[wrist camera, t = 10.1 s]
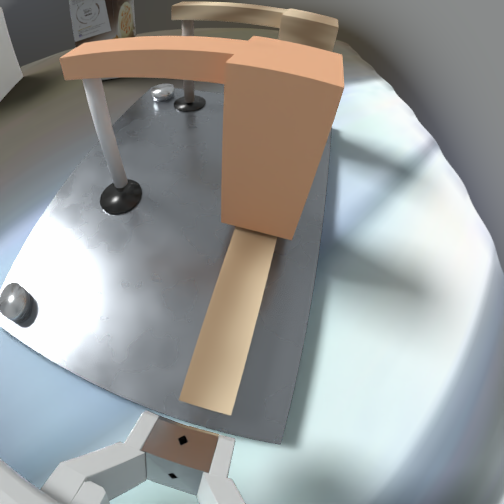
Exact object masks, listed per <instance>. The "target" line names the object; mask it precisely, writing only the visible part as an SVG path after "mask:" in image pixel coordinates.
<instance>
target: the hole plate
mask: <svg viewBox="0 0 504 504" xmlns="http://www.w3.org/2000/svg"><path fill="white" fill-rule="evenodd" d="M194 99H195V100H194V102H192V103H186V102H185V101H184V89H176V88H174V86H173V85H172V84H159V85H156V86H154V87H151V88H150V89H149V90H148V91H147V92H146V93H145V94H144V95H143V96H142V97H141V98H140V99H138V100H137V101H136V102H135V103H134V104H133V105H132V106H131V107H130V108H129V109H128V110H127V111H126V112H125V113H124V114H123V115H122V116H121V117H120V118H119V119H118V120H117V121H116V122H115V124H114V125H113V126H112V127H113V131H114V135H115V139H116V142H117V146H118V149H119V153H120V156H121V160H122V163H123V167H124V170H125V173H126V177H127V180H128V183H127V185H126V186H125V187H123V188H116V187H115V185H114V182H113V180H112V177H111V174H110V171H109V168H108V165H107V162H106V160H105V157H104V153H103V150H102V147H101V144H100V141H98V142H97V143H96V144H95V146H94V147H93V148H92V149H91V150H90V151H89V153H88V154H87V155H86V156H85V157H84V159H83V160H82V161H81V162H80V164H79V165H78V166H77V167H76V169H75V170H74V171H73V172H72V174H71V175H70V176H69V178H68V179H67V180H66V182H65V183H64V184H63V186H62V187H61V188H60V190H59V191H58V193H57V194H56V195H55V197H54V198H53V200H52V201H51V203H50V204H49V205H48V207H47V208H46V210H45V211H44V213H43V215H42V216H41V218H40V219H39V221H38V222H37V224H36V226H35V227H34V229H33V230H32V232H31V234H30V235H29V237H28V239H27V240H26V242H25V244H24V246H23V247H22V249H21V251H20V253H19V255H18V256H17V258H16V260H15V262H14V264H13V266H12V268H11V270H10V272H9V274H8V276H7V278H6V280H5V282H4V284H3V286H2V288H1V291H0V326H1V327H2V328H3V329H5V330H6V331H7V332H9V333H10V334H12V335H13V336H14V337H16V338H17V339H19V340H20V341H21V342H23V343H24V344H26V345H27V346H29V347H30V348H32V349H33V350H35V351H37V352H38V353H40V354H41V355H43V356H45V357H46V358H48V359H49V360H51V361H53V362H54V363H56V364H58V365H60V366H61V367H63V368H65V369H67V370H68V371H70V372H72V373H74V374H76V375H78V376H79V377H81V378H83V379H85V380H87V381H89V382H91V383H93V384H95V385H97V386H99V387H101V388H103V389H105V390H107V391H110V392H112V393H114V394H116V395H118V396H121V397H123V398H125V399H128V400H130V401H132V402H135V403H137V404H139V405H142V406H144V407H147V408H150V409H152V410H155V411H158V412H160V413H163V414H166V415H169V416H171V417H174V418H177V419H180V420H183V421H186V422H190V423H193V424H196V425H199V426H203V427H206V428H210V429H213V430H217V431H221V432H224V433H228V434H232V435H237V436H241V437H245V438H250V439H254V440H259V441H264V442H270V443H275V444H281V441H282V437H283V433H284V429H285V425H286V421H287V417H288V413H289V409H290V405H291V401H292V396H293V392H294V388H295V383H296V378H297V374H298V369H299V364H300V360H301V355H302V350H303V345H304V339H305V334H306V329H307V323H308V318H309V312H310V306H311V301H312V294H313V288H314V282H315V276H316V269H317V262H318V255H319V248H320V241H321V233H322V225H323V217H324V208H325V199H326V189H327V179H328V169H329V157H330V144H331V130H332V127H331V130H330V133H329V136H328V139H327V142H326V145H325V148H324V151H323V154H322V157H321V160H320V163H319V165H318V168H317V171H316V174H315V177H314V180H313V183H312V186H311V188H310V191H309V194H308V197H307V200H306V203H305V205H304V208H303V211H302V214H301V216H300V219H299V222H298V225H297V227H296V230H295V233H294V236H293V238H292V240H288V239H284V238H280V237H277V240H276V244H275V248H274V253H273V257H272V261H271V265H270V269H269V273H268V277H267V281H266V285H265V289H264V293H263V297H262V301H261V305H260V309H259V313H258V317H257V320H256V324H255V328H254V332H253V336H252V340H251V344H250V347H249V351H248V355H247V359H246V362H245V366H244V370H243V374H242V377H241V381H240V385H239V388H238V392H237V396H236V399H235V403H234V407H233V410H232V414H231V415H227V414H223V413H219V412H216V411H212V410H209V409H205V408H202V407H199V406H195V405H192V404H189V403H186V402H183V401H180V400H179V398H180V394H181V391H182V388H183V384H184V381H185V378H186V375H187V372H188V368H189V365H190V362H191V359H192V356H193V353H194V349H195V346H196V343H197V340H198V337H199V334H200V331H201V328H202V325H203V322H204V318H205V315H206V312H207V309H208V306H209V303H210V300H211V297H212V294H213V291H214V288H215V285H216V282H217V279H218V276H219V273H220V270H221V267H222V264H223V262H224V259H225V256H226V253H227V250H228V247H229V244H230V241H231V238H232V235H233V232H234V230H235V227H236V226H234V225H230V224H226V223H222V222H221V179H222V137H223V107H224V94H220V93H213V92H205V91H197V90H194Z"/></svg>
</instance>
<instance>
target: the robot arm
mask: <svg viewBox="0 0 504 504" xmlns="http://www.w3.org/2000/svg"><path fill="white" fill-rule="evenodd" d="M234 445H235V438H231V437H227V436H223V435H219V434H216V433H213V432H209V431H205V430H201V429H198V428H195V427H191V426H186V425H183V424H181V423H178V422H175V421H172V420H170V419H167V418H164V417H162V416H159V415H156V414H154V413H151V412H149V411H146V410H145V411H144V412H143V413H142V414H141V416H140V418H139V419H138V421H137V423H136V424H135V426H134V428H133V429H132V431H131V432H130V434H129V436H128V437H127V439H126V441H125V442H124V443H122V442H118V443H115V444H113V445H110V446H107V447H105V448H102V449H99V450H96V451H94V452H91V453H88V454H85V455H82V456H79V457H76V458H73V459H70V460H67V461H63V462H60V464H59V465H58V466H57V468H56V469H55V470H54V472H53V473H52V474H51V476H50V477H49V478H48V480H47V481H46V482H45V484H44V485H43V486H42V488H41V489H38V488H37V487H36V486H34V485H33V484H31V483H30V482H29V481H27V480H26V479H25V478H24V477H22V476H21V475H20V474H18V473H17V472H16V471H15V470H14V469H12V468H11V467H10V466H9V465H8V464H6V463H5V462H4V461H3V460H2V459H1V458H0V504H110V502H109V501H110V500H112V499H114V498H115V497H117V496H119V495H121V494H123V493H125V492H127V491H128V490H130V489H132V488H134V487H136V486H137V485H139V484H141V483H143V482H144V481H146V479H148V480H151V481H153V482H156V483H159V484H162V485H165V486H168V487H172V488H174V489H177V490H180V491H183V492H186V493H190V494H193V495H196V496H197V499H198V502H199V504H246V503H245V502H244V500H243V498H242V496H241V494H240V493H239V491H238V489H237V487H236V485H235V483H234V482H233V480H232V479H230V478H228V473H229V468H230V464H231V459H232V454H233V450H234Z"/></svg>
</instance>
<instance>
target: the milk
mask: <svg viewBox="0 0 504 504" xmlns="http://www.w3.org/2000/svg"><path fill="white" fill-rule="evenodd" d="M22 78H23V75H22V72H21V69H20V67H19V64H18V61H17V58H16V55H15V52H14V49H13V46H12V43H11V40H10V36H9V33H8V30H7V26H6V23H5V19H4V15H3V11H2V8H1V7H0V101H1V100H2V99H3V98H4V97H5V96H6V94H7V93H8V92H9V91H10V90H11V89H12V88H13V87H14V86H15V85H16V84H17V83H18V82H19V81H20V80H21V79H22Z"/></svg>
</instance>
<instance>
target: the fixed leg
mask: <svg viewBox="0 0 504 504" xmlns="http://www.w3.org/2000/svg"><path fill="white" fill-rule="evenodd" d="M172 20H182V36H194V20H211V21H227V22H228V21H229V22H239V23H248V24H256V25H264V26H270V27H276V28H280V31H279V37H278V40H282V41H288V42H293V43H297V44H302V45H306V46H311V47H315V48H319V49H323V50H326V51H330V52H332V51H333V47H334V43H335V39H336V35H337V31H338V19H335V18H331V17H327V16H323V15H319V14H315V13H311V12H306V11H301V10H296V9H288V10H286V9H281V8H274V7H267V6H259V5H250V4H240V3H224V2H181V3H178V4H175V5H173V6H172ZM183 82H184V101H185V102H186V103H192V102H194V100H195V99H194V81H193V80H183ZM276 240H277V236H273V235H269V234H265V233H261V232H257V231H253V230H249V229H245V228H241V227H238V226H236V227H235V230H234V232H233V235H232V238H231V241H230V244H229V247H228V250H227V253H226V256H225V259H224V262H223V264H222V267H221V270H220V273H219V276H218V279H217V282H216V285H215V288H214V291H213V294H212V297H211V300H210V303H209V306H208V309H207V312H206V315H205V318H204V322H203V325H202V328H201V331H200V334H199V337H198V340H197V343H196V346H195V349H194V353H193V356H192V359H191V362H190V365H189V368H188V372H187V375H186V378H185V381H184V384H183V388H182V391H181V394H180V398H179V400H180V401H183V402H186V403H189V404H192V405H195V406H199V407H202V408H205V409H209V410H212V411H216V412H219V413H223V414H227V415H231V414H232V410H233V407H234V403H235V399H236V396H237V392H238V388H239V385H240V381H241V377H242V374H243V370H244V366H245V362H246V359H247V355H248V351H249V347H250V344H251V340H252V336H253V332H254V328H255V324H256V320H257V317H258V313H259V309H260V305H261V301H262V297H263V293H264V289H265V285H266V281H267V277H268V273H269V269H270V265H271V261H272V257H273V253H274V248H275V244H276Z"/></svg>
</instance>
